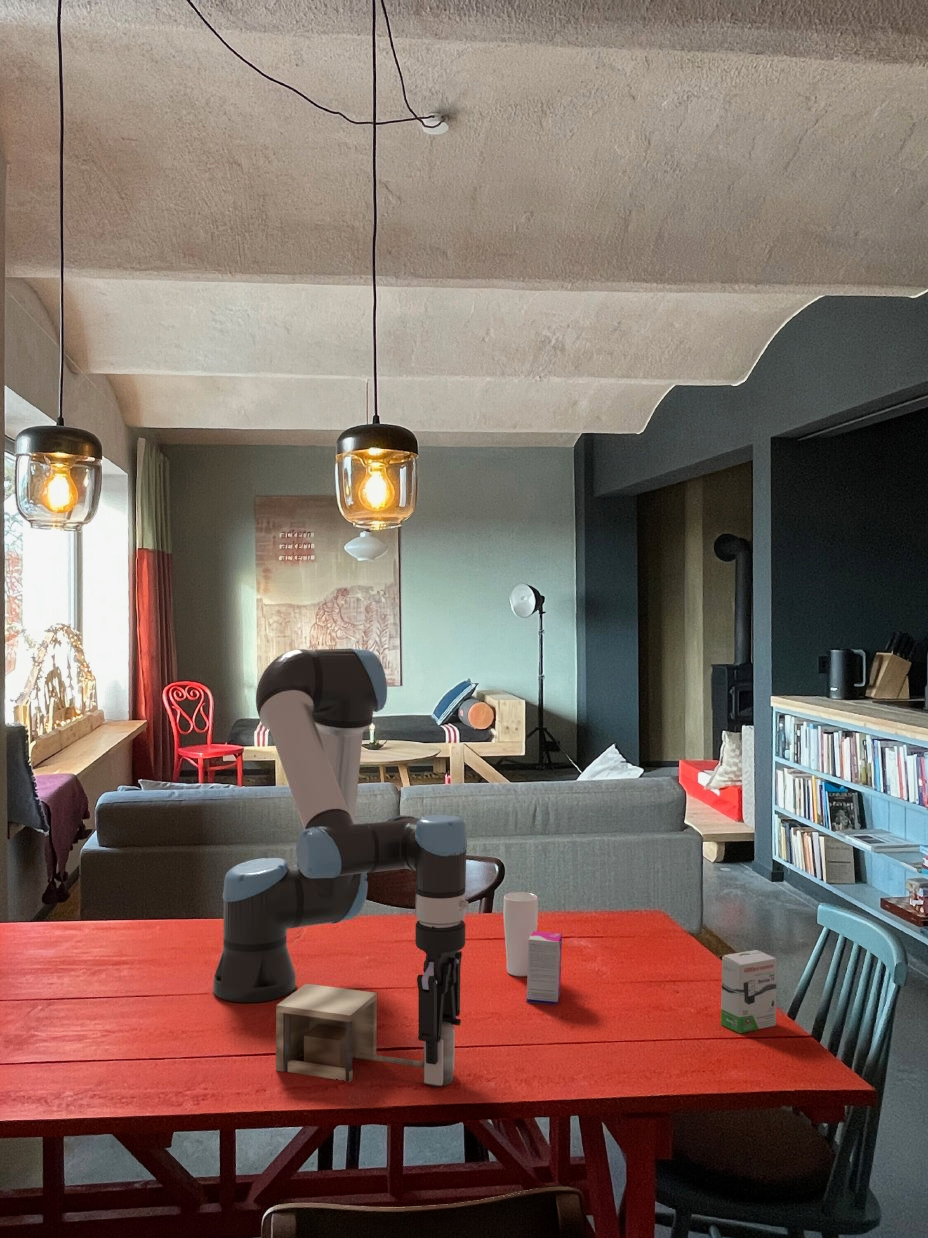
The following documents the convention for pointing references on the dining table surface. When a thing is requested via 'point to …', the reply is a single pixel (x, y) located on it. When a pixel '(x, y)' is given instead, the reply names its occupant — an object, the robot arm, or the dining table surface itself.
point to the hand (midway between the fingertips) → (439, 1076)
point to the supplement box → (544, 967)
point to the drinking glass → (519, 929)
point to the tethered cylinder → (330, 1050)
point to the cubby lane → (325, 1009)
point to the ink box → (748, 991)
